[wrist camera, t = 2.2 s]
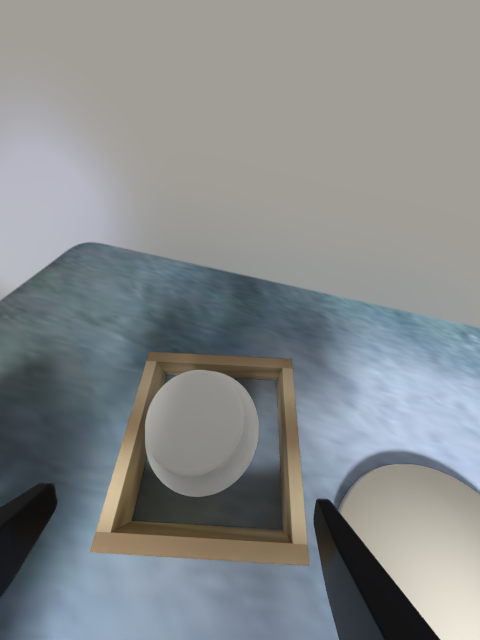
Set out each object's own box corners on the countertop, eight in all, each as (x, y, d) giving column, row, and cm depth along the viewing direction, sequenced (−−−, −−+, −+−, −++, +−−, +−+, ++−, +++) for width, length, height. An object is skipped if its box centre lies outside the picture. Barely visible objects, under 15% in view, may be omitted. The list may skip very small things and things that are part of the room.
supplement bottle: (196, 394, 19) (165, 337, 11) (258, 414, 18) (278, 371, 10) (166, 467, 16) (89, 471, 8) (238, 496, 16) (241, 535, 7)
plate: (629, 942, 8) (664, 984, 8) (301, 680, 11) (305, 694, 11) (548, 528, 15) (563, 531, 14) (352, 430, 18) (356, 429, 17)
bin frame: (296, 547, 14) (309, 565, 12) (115, 536, 14) (89, 552, 12) (284, 371, 20) (291, 359, 18) (159, 365, 21) (149, 351, 18)
